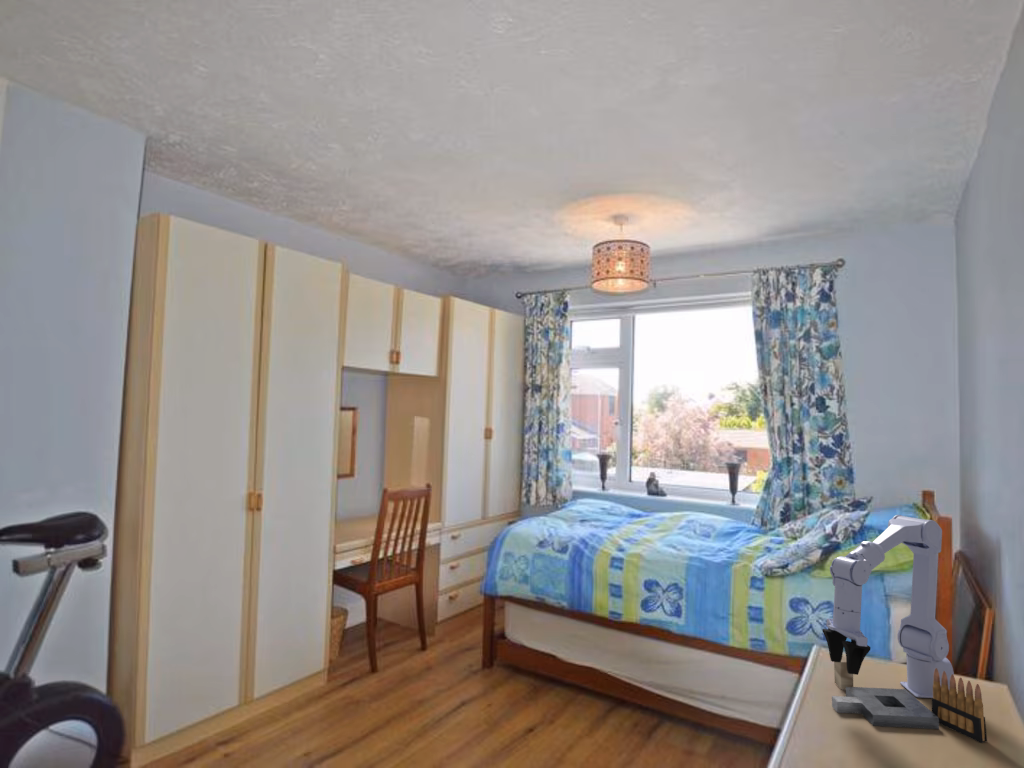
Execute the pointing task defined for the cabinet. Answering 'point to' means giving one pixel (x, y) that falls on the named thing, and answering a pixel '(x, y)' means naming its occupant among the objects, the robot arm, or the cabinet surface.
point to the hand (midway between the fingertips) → (844, 667)
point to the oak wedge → (842, 674)
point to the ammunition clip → (959, 707)
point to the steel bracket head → (896, 713)
